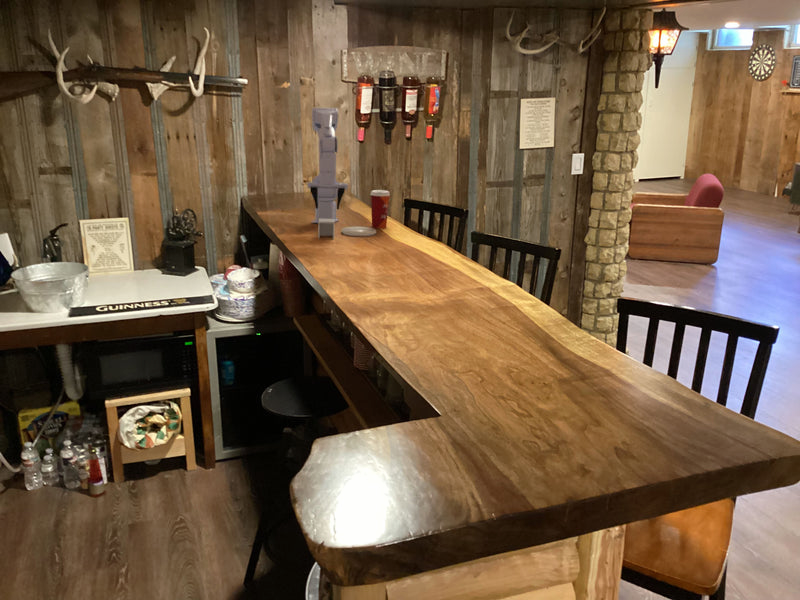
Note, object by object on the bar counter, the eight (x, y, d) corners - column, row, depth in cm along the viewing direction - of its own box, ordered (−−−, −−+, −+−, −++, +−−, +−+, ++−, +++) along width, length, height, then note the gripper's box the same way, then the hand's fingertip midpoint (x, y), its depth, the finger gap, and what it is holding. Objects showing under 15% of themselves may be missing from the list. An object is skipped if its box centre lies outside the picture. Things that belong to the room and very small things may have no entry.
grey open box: (319, 235, 254) (319, 218, 252) (334, 235, 254) (334, 218, 253) (318, 238, 249) (318, 221, 247) (333, 239, 249) (334, 221, 247)
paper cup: (388, 229, 269) (389, 193, 265) (368, 228, 269) (369, 192, 265) (389, 225, 277) (390, 190, 273) (370, 224, 277) (371, 189, 273)
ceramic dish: (348, 227, 269) (348, 225, 268) (380, 231, 265) (380, 228, 265) (336, 234, 257) (336, 231, 256) (369, 237, 253) (369, 235, 253)
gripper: (306, 171, 247) (306, 209, 251) (347, 173, 248) (347, 211, 252) (308, 169, 253) (308, 206, 258) (348, 170, 254) (347, 207, 259)
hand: (327, 208), depth 255 cm, fingers open, 7 cm apart
